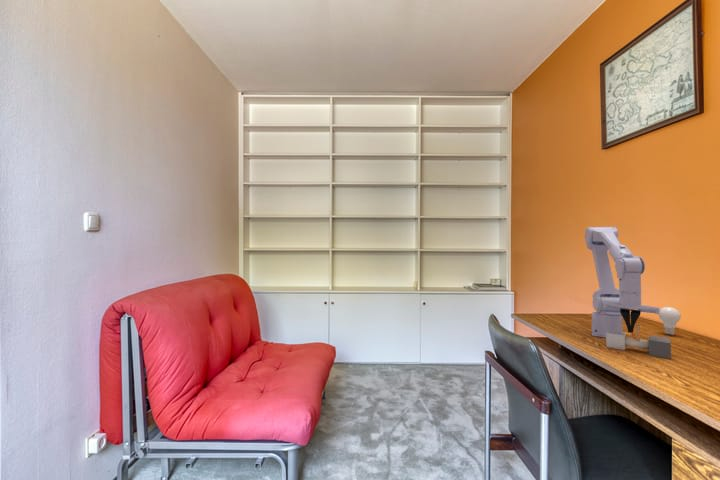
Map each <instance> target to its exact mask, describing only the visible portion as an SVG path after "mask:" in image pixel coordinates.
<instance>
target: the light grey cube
mask: <svg viewBox="0 0 720 480" xmlns="http://www.w3.org/2000/svg"><path fill="white" fill-rule="evenodd" d="M626 334H627V333H626V331H625V332H624V331H622V332H619V331H612V330H607V332H606V338H605V339H606V340H605V346H606V348H609V349H610V348H611V349H614V350H615V349H616V350H622V351H626V347H627V346H625V337H627V335H626Z"/></svg>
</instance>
